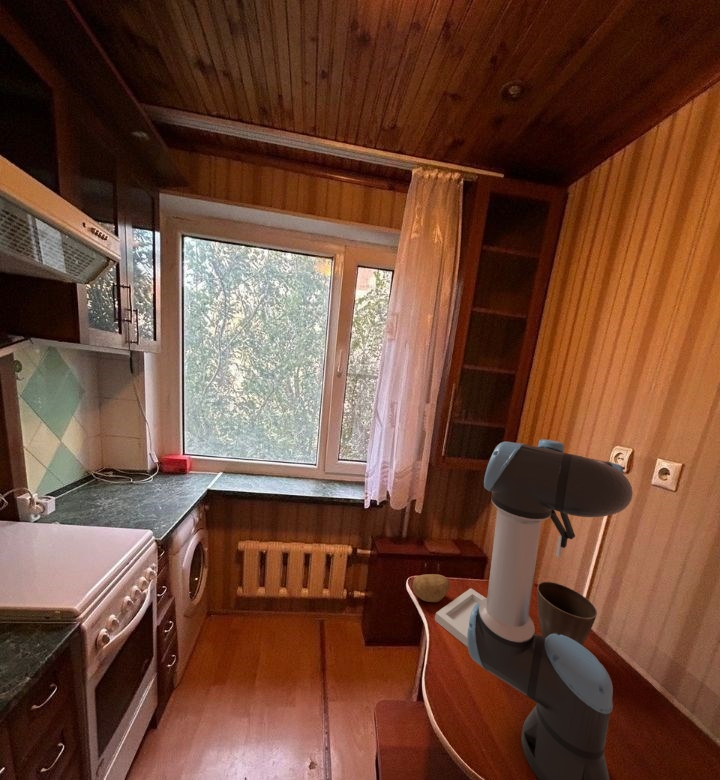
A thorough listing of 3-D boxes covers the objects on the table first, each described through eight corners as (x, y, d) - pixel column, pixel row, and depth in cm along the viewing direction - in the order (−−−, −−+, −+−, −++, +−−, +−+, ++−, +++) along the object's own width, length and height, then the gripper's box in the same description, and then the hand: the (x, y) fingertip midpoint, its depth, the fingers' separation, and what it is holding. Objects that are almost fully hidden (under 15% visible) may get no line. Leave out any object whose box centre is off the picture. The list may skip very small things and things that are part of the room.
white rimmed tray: (489, 664, 84) (490, 653, 84) (434, 620, 97) (436, 611, 97) (520, 628, 98) (522, 619, 98) (469, 594, 112) (470, 586, 112)
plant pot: (570, 634, 98) (578, 587, 98) (600, 679, 84) (609, 623, 83) (522, 624, 100) (529, 577, 100) (543, 665, 85) (551, 611, 85)
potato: (454, 605, 105) (458, 583, 105) (420, 612, 100) (423, 588, 100) (438, 586, 114) (441, 566, 114) (405, 591, 109) (408, 569, 109)
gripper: (592, 497, 97) (582, 561, 97) (513, 472, 116) (505, 526, 117) (585, 500, 92) (575, 568, 93) (504, 474, 111) (495, 530, 112)
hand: (536, 545), depth 105 cm, fingers open, 13 cm apart
